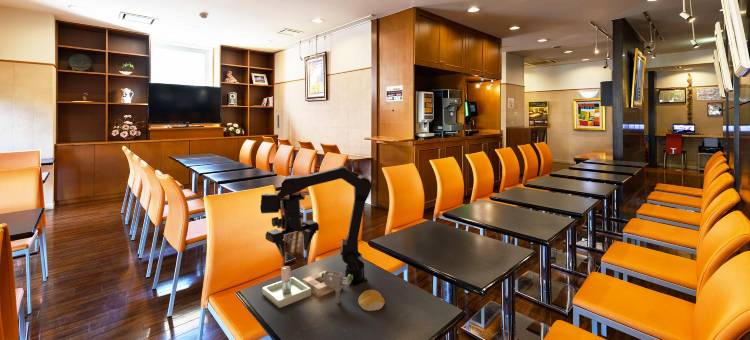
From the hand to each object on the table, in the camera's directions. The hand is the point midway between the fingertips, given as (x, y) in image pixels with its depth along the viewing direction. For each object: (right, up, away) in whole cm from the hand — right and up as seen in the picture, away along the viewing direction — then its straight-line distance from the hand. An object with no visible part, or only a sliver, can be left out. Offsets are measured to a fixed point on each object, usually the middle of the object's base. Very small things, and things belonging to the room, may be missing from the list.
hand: (294, 253), depth 129 cm
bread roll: (+28, -14, -12) cm, 33 cm away
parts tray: (-1, -13, -5) cm, 14 cm away
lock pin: (-1, -12, -6) cm, 13 cm away
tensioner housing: (+10, -12, 0) cm, 16 cm away
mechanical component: (+17, -14, -10) cm, 24 cm away
